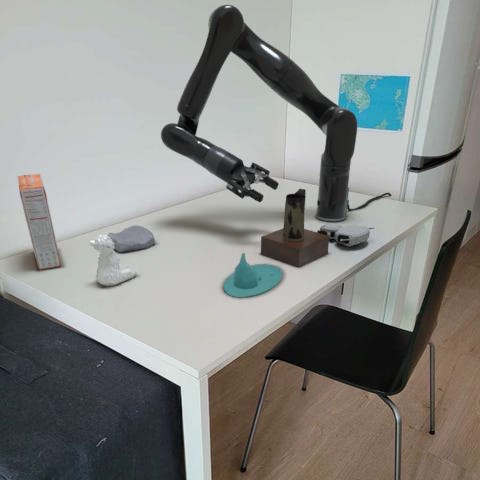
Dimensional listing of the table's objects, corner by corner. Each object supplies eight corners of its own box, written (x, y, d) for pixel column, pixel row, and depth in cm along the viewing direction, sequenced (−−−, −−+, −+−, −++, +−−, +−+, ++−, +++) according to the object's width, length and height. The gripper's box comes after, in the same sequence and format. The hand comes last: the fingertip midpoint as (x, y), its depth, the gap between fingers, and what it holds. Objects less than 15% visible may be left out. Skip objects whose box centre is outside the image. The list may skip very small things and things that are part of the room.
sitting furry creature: (138, 275, 120) (132, 228, 114) (123, 290, 112) (116, 241, 106) (103, 271, 121) (95, 226, 115) (86, 286, 114) (77, 238, 108)
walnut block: (290, 241, 140) (291, 225, 137) (327, 253, 132) (329, 235, 129) (260, 254, 131) (260, 236, 129) (298, 267, 124) (299, 248, 121)
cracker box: (34, 252, 133) (16, 175, 123) (57, 248, 135) (41, 172, 125) (37, 271, 122) (17, 188, 112) (62, 267, 124) (45, 185, 114)
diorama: (293, 270, 122) (294, 237, 118) (256, 302, 107) (257, 266, 102) (250, 261, 127) (250, 230, 123) (210, 291, 112) (209, 256, 108)
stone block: (159, 249, 139) (139, 234, 144) (159, 235, 136) (138, 220, 141) (123, 262, 132) (104, 246, 137) (123, 247, 129) (102, 231, 134)
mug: (298, 242, 125) (301, 196, 119) (279, 239, 127) (281, 193, 121) (310, 233, 131) (313, 189, 125) (291, 230, 133) (294, 186, 127)
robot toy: (308, 243, 140) (354, 252, 131) (308, 228, 138) (355, 236, 129) (331, 232, 148) (376, 240, 139) (331, 218, 146) (377, 225, 137)
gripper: (211, 162, 130) (260, 192, 127) (239, 144, 139) (286, 171, 136) (206, 185, 136) (253, 214, 133) (233, 166, 145) (278, 193, 142)
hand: (270, 192), depth 134 cm, fingers open, 8 cm apart
